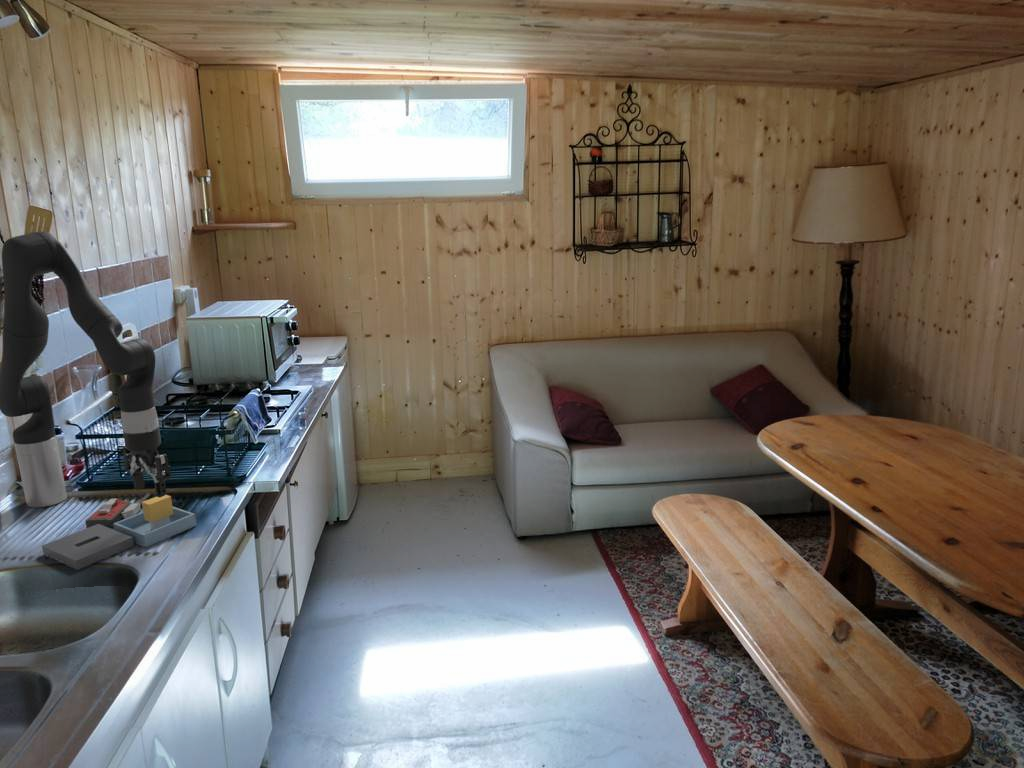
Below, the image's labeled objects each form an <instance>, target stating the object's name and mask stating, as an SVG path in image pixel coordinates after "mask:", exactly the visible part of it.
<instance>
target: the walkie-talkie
mask: <svg viewBox="0 0 1024 768" xmlns="http://www.w3.org/2000/svg"><path fill="white" fill-rule="evenodd" d="M150 496H151V493H146V494H145V495H144V496H143V497H142V498H141V499H139V501H137V502H136V503H135V502H134V503H132V502H131V501H130V500H121V498H109V499H108V500H107V501H105V503H103V504H102V506H100V507H99V508H98V509H97V510H96V511H95V512H93V514H91V515H90V516H89V517H88V518H87V519H85V527H86V528H89V527H91V526H94V525H97V524H100V525H103V526H106V527H108V528H111V529H113V530H114V525H113V524H114V523H116V522H119V521H121V520H124V519H126V518H129V517H132V516H134V515H137V514H139V512H140V511H141V510H142V509H141V506H142V502H143V501H146V500H148V498H149V497H150ZM86 528H85V529H86Z"/></svg>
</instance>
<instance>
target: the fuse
mask: <svg viewBox="0 0 1024 768" xmlns="http://www.w3.org/2000/svg"><path fill="white" fill-rule="evenodd" d="M141 506H142V512H143V513H144V519H145V520H146V521H149V522H150V526H151V530H155V529H157V528H160V527H162V526H164V525H167V524H169V523H170V518H169V516H170V515H172V514H174V513H173V507H174V506H173V501H172V496H171V495H168V494H166V495H165V496H162V497H157V496H155V497H154V496H153V497H152V498H149V499H146V501H143V502H142V505H141ZM172 506H173V507H172Z"/></svg>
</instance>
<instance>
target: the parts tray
mask: <svg viewBox="0 0 1024 768" xmlns="http://www.w3.org/2000/svg"><path fill="white" fill-rule="evenodd" d="M172 507H173V513H174V514H172V515H170V516H169V518H170V523H169V524H167V525H164V526H162V527H160V528H157V529H155V530H151V526H150V522H149V521H146V520H145V519H144V513H143V511H142V512H140V513H139V512H138V513H137V514H136V515H134V516H132V517H129V518H126V519H124V520H121V521H119V522H116V523H114V524H113V525H114V529H113V530H116V531H118V532H121V533H124V534H126V535H129V536H131V537H133V542H134V544H136V545H138V546H141V547H143V548H148V547H150V546H152V545H154V544H158V543H160V542H162V541H164V540H168V539H169V538H170V537H173V536H175V535H178V534H180V533H182V532H185V531H187V530H190V529H192V528H194V527H197V520H196V514H195V513H193V512H190V511H187V510H184V509H181V508H179V507H175V506H173V505H172Z"/></svg>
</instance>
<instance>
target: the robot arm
mask: <svg viewBox="0 0 1024 768" xmlns="http://www.w3.org/2000/svg"><path fill="white" fill-rule="evenodd" d="M1 264H2V265H1V267H2V276H3V277H2V278H3V288H4V289H3V293H4V294H3V296H4V297H3V299H4V301H3V303H4V304H3V305H4V306H3V320H2V334H1V335H2V351H1V356H2V357H1V365H0V412H1V413H2V414H3V415H4V416H5V417H9V418H16V417H21V416H24V415H25V416H26V415H30V414H32V415H31V416H30V418H29V419H28V420H27V421H25V422H24V423H22V424H21V425H20V426H18V427H16V428H15V429H14V430H13V431H12V438H13V439H12V440H13V445H14V449H15V454H16V458H17V462H18V463H17V464H18V467H19V472H20V479H21V482H22V488H23V493H24V494H23V495H24V497H25V502H26V506H27V507H29V508H45V507H50V506H54V505H57V504H59V503H62V502H64V501H65V500H66V499H67V498H68V495H67V489H66V483H65V478H64V477H65V476H64V473H63V466H62V462H61V458H60V457H61V455H60V451H59V447H58V442H57V436H56V430H55V425H56V424H55V419H54V411H53V403H52V395H51V391H50V387H49V384H48V382H47V381H46V379H45V378H44V376H42V375H37V374H36V375H31V376H30V375H29V376H25V374H26V372H27V371H28V369H29V368H30V367H31V366H32V365H33V364H34V362H35V361H36V360H37V359H38V358H39V357H40V356H41V354H42V353H43V352H44V350H45V348H46V346H47V344H48V341H49V340H48V339H49V328H50V322H49V317H48V314H47V312H46V311H45V310H44V308H43V307H42V306H41V305H40V303H39V302H37V300H36V299H35V298H34V297H33V294H32V282H33V279H34V278H35V277H38V276H42V275H46V274H49V273H54V275H56V276H57V277H58V279H60V280H61V281H62V283H63V285H64V287H65V290H66V295H67V301H68V302H67V303H68V309H69V313H70V314H71V316H72V317H71V318H73V320H74V322H75V323H76V324H77V325H78V327H80V329H81V330H82V331H83V332H84V333H85V334H86V335H87V336H88V338H89V339H90V340H91V341H92V342H93V345H94V347H95V349H96V351H97V353H98V354H99V356H100V359H101V360H102V361H101V362H102V363H103V365H104V366H105V367H106V368H107V370H109V372H111V373H113V374H115V375H117V376H127V375H128V378H127V379H126V381H124V382H123V383H122V384H121V385H119V387H118V391H117V392H118V393H117V395H118V400H119V407H120V420H121V422H120V423H121V427H122V433H123V439H124V440H123V441H124V447H122V454H123V462H124V469H125V470H126V472H128V471H129V473H130V475H131V476H132V481H133V486H134V490H138V491H140V490H141V489H144V488H145V487H146V485H145V478H144V473H143V470H144V471H146V473H147V475H148V476H151V478H152V479H153V481H154V484H153V485H154V491H155V497H162V496H165V495H168V494H167V493H168V492H167V488H166V487H167V486H166V480H170V479H171V478H172V476H171V475H172V474H171V469H170V464H169V458H168V455H167V454H166V453H163V454H159V452H158V447H159V446H161V443H162V439H161V433H160V431H161V430H160V425H159V418H158V413H157V409H156V406H155V400H154V392H153V384H154V379H155V370H156V353H155V351H154V349H153V346H152V345H151V343H149V342H148V341H147V340H146V339H143V338H133V339H130V340H128V341H127V340H126V341H123V342H121V341H119V339H118V337H120V336H121V334H122V333H123V330H124V328H123V324H122V323H121V321H120V320H119V319H118V318H117V317H116V315H115V314H114V313H113V312H112V311H111V310H110V309H109V308H108V307H107V306H106V305H105V303H103V302H102V301H101V299H100V298H99V297H98V295H97V294H96V292H94V291H93V289H92V287H91V286H90V284H89V283H88V281H87V280H86V277H85V276H84V275H83V273H82V272H81V270H80V268H79V267H78V266H77V264H76V263H75V261H74V260H73V257H72V256H71V255H70V253H69V252H68V251H67V249H66V248H65V246H64V245H63V244H62V242H61V241H60V240H59V239H58V238H57V237H56V236H55V235H54V234H52V233H51V232H49V231H47V230H46V231H45V230H44V231H43V230H41V231H35V232H31V233H26V234H21V235H16V236H13V237H9V238H8V239H6V240H5V241H4V243H3V245H2V249H1ZM24 376H25V377H24ZM130 462H131V463H130Z"/></svg>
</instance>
